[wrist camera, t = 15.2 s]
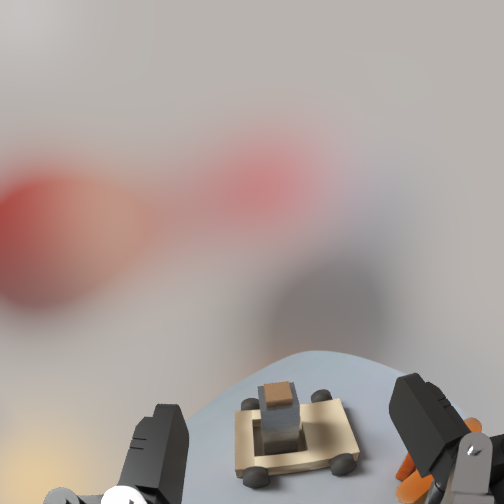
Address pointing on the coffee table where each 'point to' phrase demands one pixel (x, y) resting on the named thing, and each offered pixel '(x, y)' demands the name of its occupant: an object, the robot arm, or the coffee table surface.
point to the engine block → (279, 417)
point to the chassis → (309, 443)
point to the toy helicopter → (413, 485)
